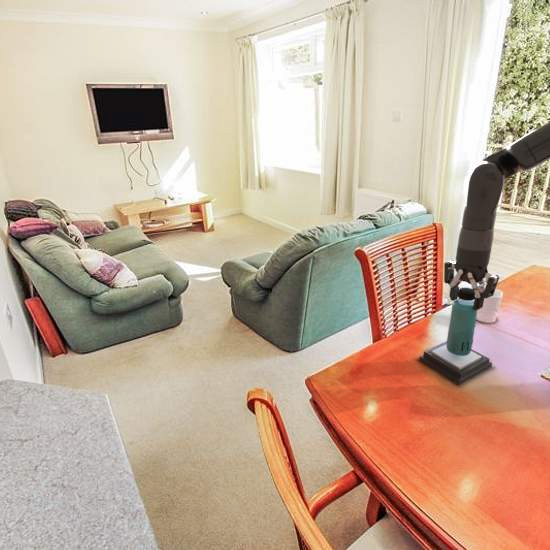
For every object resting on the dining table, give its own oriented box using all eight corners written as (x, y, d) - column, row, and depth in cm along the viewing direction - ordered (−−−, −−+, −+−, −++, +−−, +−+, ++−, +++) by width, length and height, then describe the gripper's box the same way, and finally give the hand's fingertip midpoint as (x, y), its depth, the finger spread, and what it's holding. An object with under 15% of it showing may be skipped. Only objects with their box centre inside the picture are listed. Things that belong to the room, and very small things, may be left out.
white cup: (467, 318, 129) (472, 292, 125) (477, 310, 134) (481, 284, 130) (492, 326, 123) (498, 299, 119) (501, 317, 128) (506, 291, 124)
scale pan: (452, 345, 112) (452, 341, 111) (481, 361, 104) (481, 356, 104) (430, 355, 108) (431, 351, 107) (459, 372, 100) (460, 367, 100)
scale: (451, 345, 115) (452, 336, 114) (491, 367, 104) (493, 358, 103) (419, 360, 109) (420, 351, 108) (458, 385, 98) (460, 376, 97)
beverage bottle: (458, 363, 101) (469, 297, 93) (439, 351, 107) (448, 288, 99) (476, 356, 103) (487, 291, 96) (456, 345, 109) (466, 282, 101)
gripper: (512, 249, 88) (499, 311, 95) (458, 234, 100) (450, 291, 107) (493, 255, 85) (481, 319, 92) (439, 240, 97) (432, 298, 103)
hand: (464, 304), depth 99 cm, fingers closed on beverage bottle, 6 cm apart
